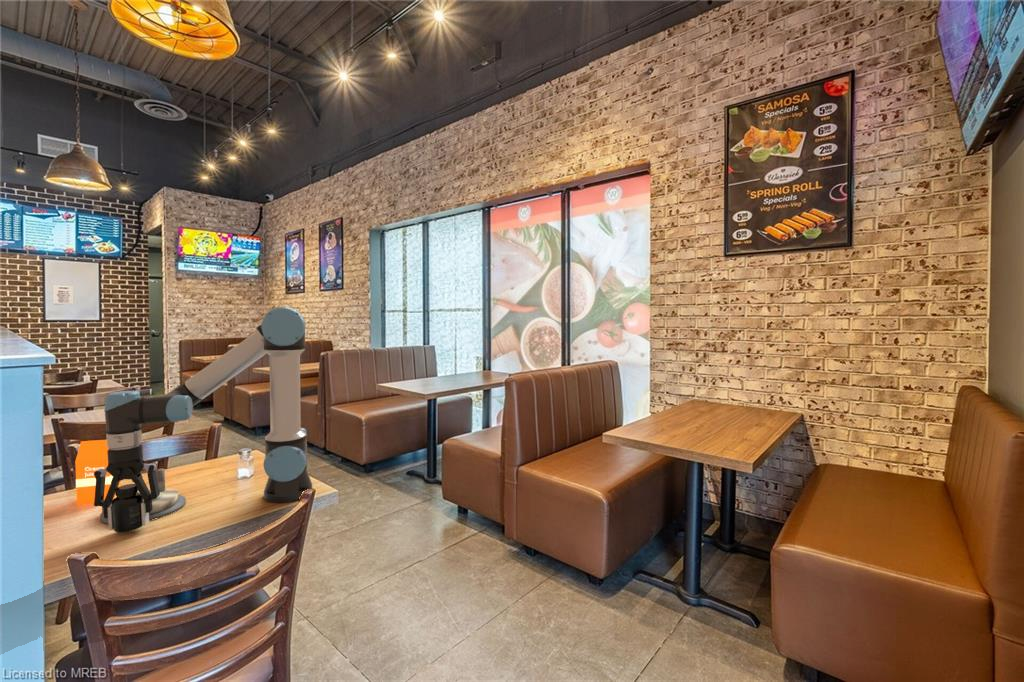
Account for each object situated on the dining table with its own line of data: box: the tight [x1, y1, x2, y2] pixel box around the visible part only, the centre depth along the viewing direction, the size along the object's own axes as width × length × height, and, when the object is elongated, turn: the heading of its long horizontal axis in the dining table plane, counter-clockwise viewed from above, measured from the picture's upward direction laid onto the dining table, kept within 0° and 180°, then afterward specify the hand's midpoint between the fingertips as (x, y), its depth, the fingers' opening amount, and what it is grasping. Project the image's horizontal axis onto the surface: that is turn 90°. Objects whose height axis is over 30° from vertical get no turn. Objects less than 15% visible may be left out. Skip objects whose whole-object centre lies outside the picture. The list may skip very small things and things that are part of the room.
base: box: [99, 494, 187, 526], centre depth 142 cm, size 21×21×4 cm
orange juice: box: [74, 439, 122, 506], centre depth 150 cm, size 8×9×20 cm
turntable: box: [111, 468, 179, 514], centre depth 142 cm, size 17×17×9 cm
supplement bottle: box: [112, 483, 143, 534], centre depth 128 cm, size 7×7×12 cm
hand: (129, 525), depth 128 cm, fingers closed on supplement bottle, 7 cm apart
